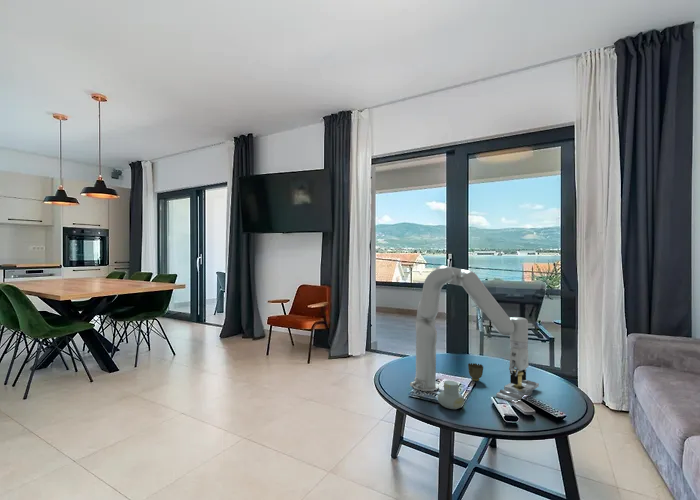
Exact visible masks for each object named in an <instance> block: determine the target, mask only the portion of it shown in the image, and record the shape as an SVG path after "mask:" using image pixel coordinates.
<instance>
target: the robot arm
mask: <svg viewBox="0 0 700 500" xmlns="http://www.w3.org/2000/svg"><path fill="white" fill-rule="evenodd" d="M446 284H449V285H455V286H460V287H462V288H463V289H464V291H465V293H467V294H468V296H469V297H470V299H471V300H472V301H473V303H474V304H475V305H476V307H477V308H478V309H479V310H480V311H482V312H483V314H484V315H486V317H487V318H488V319H489V321H491V326H492V328H493V329H494V330H496V331H497V332H498V333H499V334H500V335H502V336H509V348H510V352H509V368H508V369H509V375H510V382H509V383H512V384H516V385H517V384H518V376H517V374H518V371H522V372H523V375H522V380H527V368H529V350H528V348H529V347H528V346H529V345H528V343H529V338H528V337H529V321H528V319H527V318H525V317H521V316H520V317H518V316H513V317H510V316H509V315H508V314H507V312H505V310H504V308H502V306H501V305H500V304H499V303H498V301H497V300H496V299H495V297H494V296H493V295H492V294H491V292H490V291H489V290H488V288H487V287H486V286H485V285H484V284H485V283H483V282H482V280H481V279H480V278H479V276H478V275H477V274H476V273H475V272H474V271H473V270H468V269H462V268H457V267H453V266H448V265H438V266H437V267H435V269H434V270H433V271H431V272H430V273H429V274H428V275H427V276H426V278H425V279H424V282H423V286H422V292H421V298H420V300H419V302H418V305H417V311H416V319H415V332H416V333H415V335H416V336H415V340H416V341H415V377H414V381H410V383H409V386H410V388H411V387H413V388H414V389H415V390H417V391H420V390H421V392H427V391H431V392H435V391H434V390H436V391H437V389H438V388H439V389H440V385H439V384H438V382H437V381H436V379H437V375H436V374H437V373H436V372H437V338H438V334H437V327H436V325H435V324H436V317H437V315H438V314H439V309H440V308H439V305H440V296H441V291H442V288H443V287H444V286H445V285H446ZM514 370H516V372H515V371H514ZM439 389H438V390H439Z"/></svg>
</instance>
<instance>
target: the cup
mask: <svg viewBox="0 0 700 500" xmlns="http://www.w3.org/2000/svg"><path fill="white" fill-rule="evenodd" d="M467 367H468V368H467V369H468V374H469V376H470V378H471V380H472V381H473V382H479V381H480V378H482V377H483V372H484V366H483V364H482V363H481V364H479V363H478V364H477V362H471V363H470V362H469V363H468V364H467Z"/></svg>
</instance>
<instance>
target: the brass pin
mask: <svg viewBox="0 0 700 500" xmlns="http://www.w3.org/2000/svg"><path fill="white" fill-rule="evenodd" d="M514 371H515V372H516V370H514ZM522 375H523V372H522V371H519V370H518V374H517V376H518V384H517V385H516V384H514V387H515V388H518V389H522Z"/></svg>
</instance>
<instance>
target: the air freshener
mask: <svg viewBox="0 0 700 500" xmlns="http://www.w3.org/2000/svg"><path fill="white" fill-rule="evenodd" d="M437 401H438V403H439V404H440V405H441V406H442V407H444V408H446V409H450V410H457V409H460V408H462V407H463V406H464V404H465V397H464V396H463V395H462V393H460V392H459V383H458V382H457V381H455V380H445V381H444V382H443V390H442V391H441V392H439V393H438V395H437Z"/></svg>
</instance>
